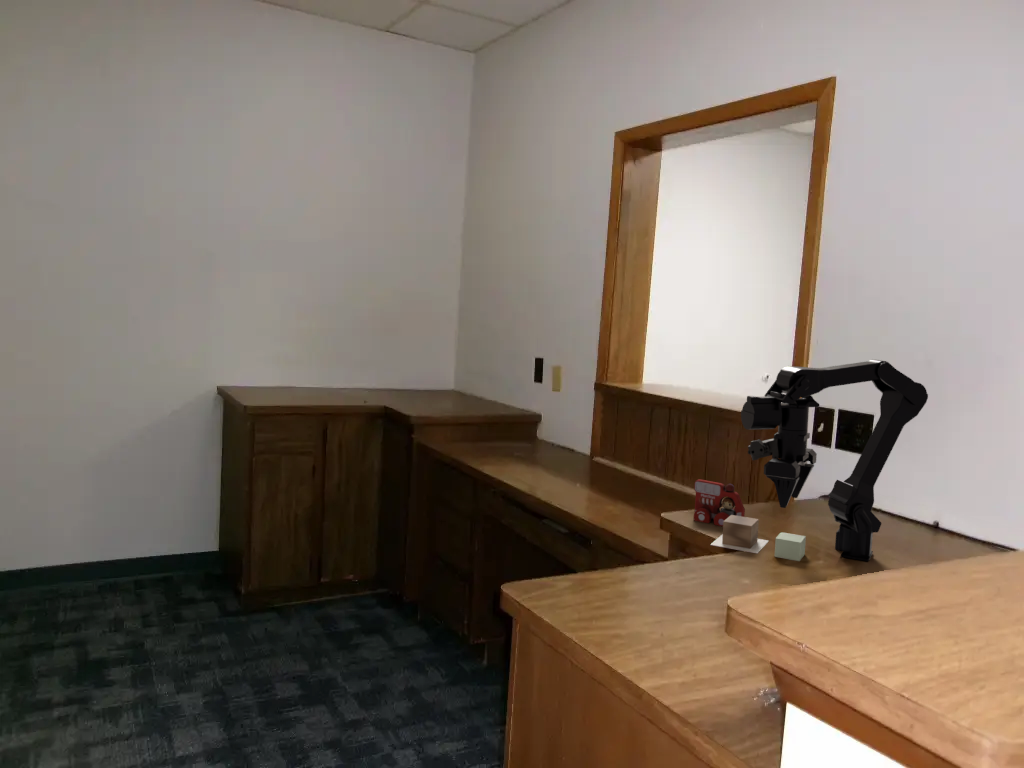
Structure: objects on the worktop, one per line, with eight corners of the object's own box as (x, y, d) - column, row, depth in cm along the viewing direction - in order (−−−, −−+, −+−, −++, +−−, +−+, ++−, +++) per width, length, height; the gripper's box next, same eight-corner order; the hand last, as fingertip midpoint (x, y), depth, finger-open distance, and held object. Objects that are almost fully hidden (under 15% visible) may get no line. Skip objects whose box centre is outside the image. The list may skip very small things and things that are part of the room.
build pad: (768, 545, 175) (769, 540, 175) (757, 557, 167) (757, 553, 167) (723, 537, 180) (723, 532, 180) (710, 549, 172) (710, 544, 172)
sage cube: (804, 559, 167) (805, 536, 166) (799, 566, 163) (800, 542, 162) (779, 554, 169) (781, 532, 169) (774, 561, 165) (775, 538, 164)
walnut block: (757, 541, 175) (758, 519, 174) (750, 548, 169) (751, 526, 169) (730, 536, 178) (731, 514, 177) (722, 543, 173) (723, 521, 172)
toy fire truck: (736, 534, 183) (738, 489, 182) (686, 523, 191) (688, 480, 190) (748, 527, 189) (750, 484, 187) (699, 517, 196) (701, 475, 195)
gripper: (766, 418, 176) (762, 487, 178) (739, 431, 160) (736, 506, 162) (818, 423, 170) (814, 495, 172) (797, 437, 154) (792, 515, 156)
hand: (788, 502), depth 165 cm, fingers open, 9 cm apart
